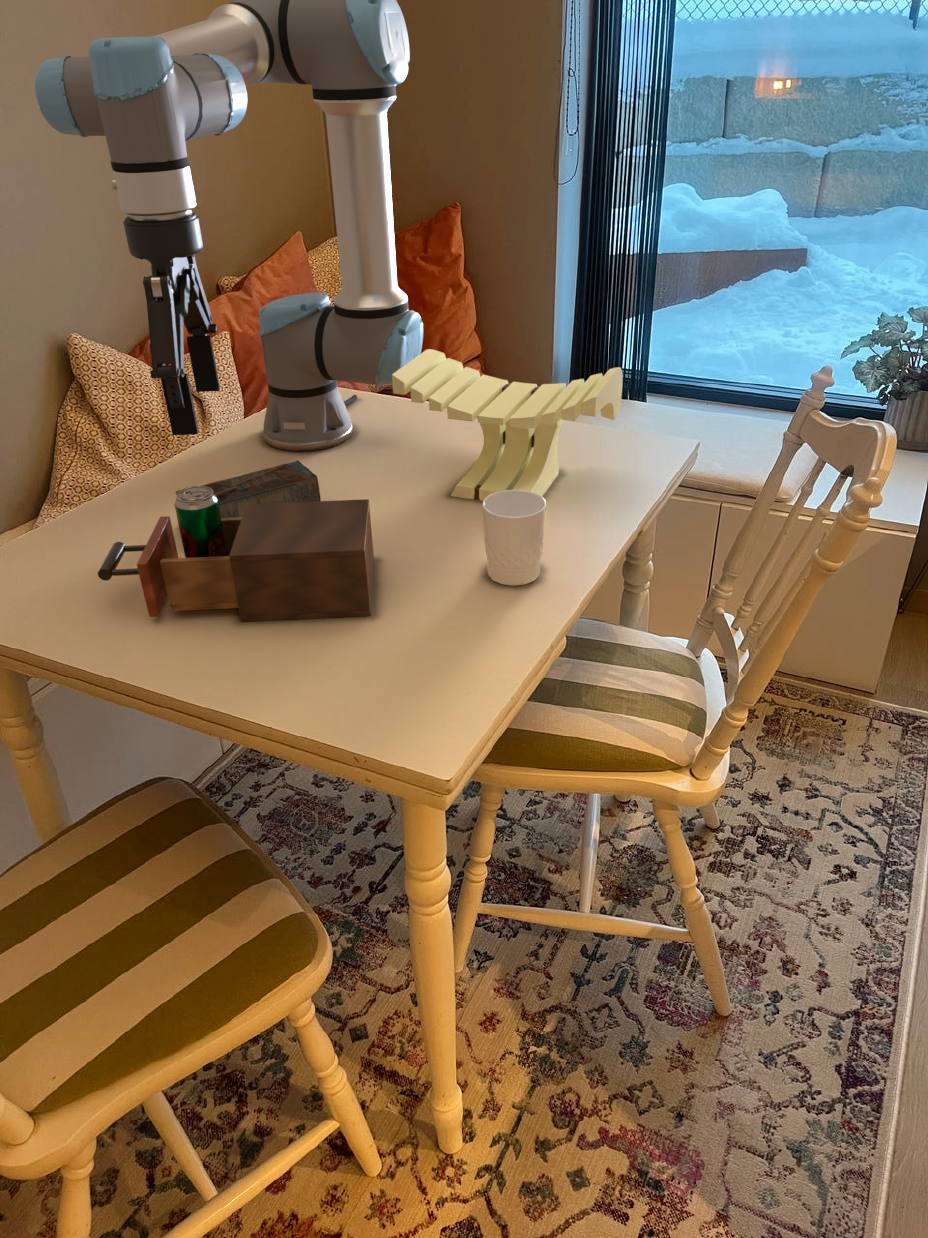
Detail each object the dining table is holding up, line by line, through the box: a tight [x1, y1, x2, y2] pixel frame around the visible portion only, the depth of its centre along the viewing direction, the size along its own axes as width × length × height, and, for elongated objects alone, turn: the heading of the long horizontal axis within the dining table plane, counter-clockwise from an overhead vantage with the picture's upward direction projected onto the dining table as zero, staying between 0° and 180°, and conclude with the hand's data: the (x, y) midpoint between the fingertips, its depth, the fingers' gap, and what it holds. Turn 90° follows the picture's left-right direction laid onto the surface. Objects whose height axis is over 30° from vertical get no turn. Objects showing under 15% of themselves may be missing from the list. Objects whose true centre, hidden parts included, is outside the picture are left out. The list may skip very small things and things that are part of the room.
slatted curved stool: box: [392, 348, 624, 502], centre depth 140 cm, size 30×16×18 cm, turn 68°
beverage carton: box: [175, 460, 322, 518], centre depth 133 cm, size 8×19×7 cm, turn 121°
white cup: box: [481, 490, 547, 587], centre depth 118 cm, size 8×8×10 cm
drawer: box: [97, 515, 242, 618], centre depth 115 cm, size 20×12×7 cm, turn 93°
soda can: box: [174, 485, 228, 558], centre depth 114 cm, size 5×5×12 cm
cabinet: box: [229, 498, 375, 623], centre depth 116 cm, size 16×14×9 cm
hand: (197, 411), depth 108 cm, fingers open, 13 cm apart
